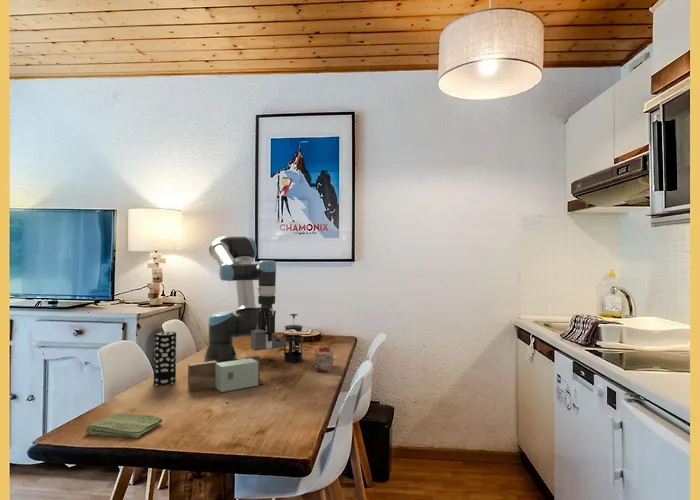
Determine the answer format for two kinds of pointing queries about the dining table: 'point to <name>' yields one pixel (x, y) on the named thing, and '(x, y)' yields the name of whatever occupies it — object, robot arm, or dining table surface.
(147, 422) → the washcloth
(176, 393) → the dining table surface
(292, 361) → the french press
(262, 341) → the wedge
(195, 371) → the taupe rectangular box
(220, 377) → the pale green box
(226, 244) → the robot arm
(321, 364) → the food item
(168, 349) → the spotted tube
